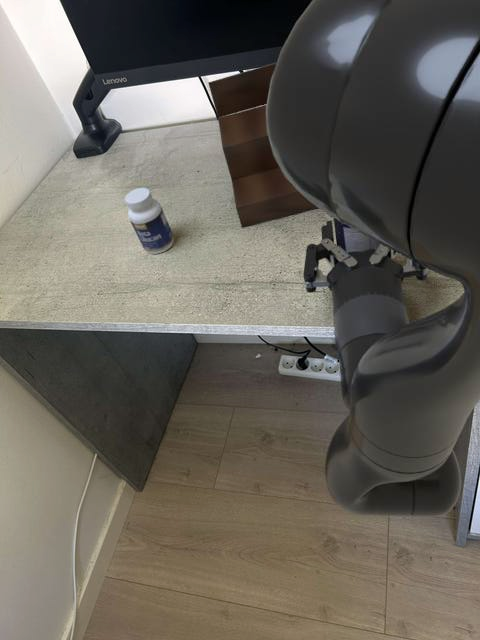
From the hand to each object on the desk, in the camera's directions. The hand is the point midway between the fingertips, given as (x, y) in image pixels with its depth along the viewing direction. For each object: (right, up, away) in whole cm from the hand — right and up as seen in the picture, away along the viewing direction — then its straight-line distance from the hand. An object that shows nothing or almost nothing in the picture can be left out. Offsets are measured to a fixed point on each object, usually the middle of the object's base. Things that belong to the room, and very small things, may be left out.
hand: (357, 222), depth 62 cm
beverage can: (+2, -6, +4) cm, 8 cm away
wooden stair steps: (-9, +11, +22) cm, 26 cm away
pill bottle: (-28, 0, +19) cm, 34 cm away
